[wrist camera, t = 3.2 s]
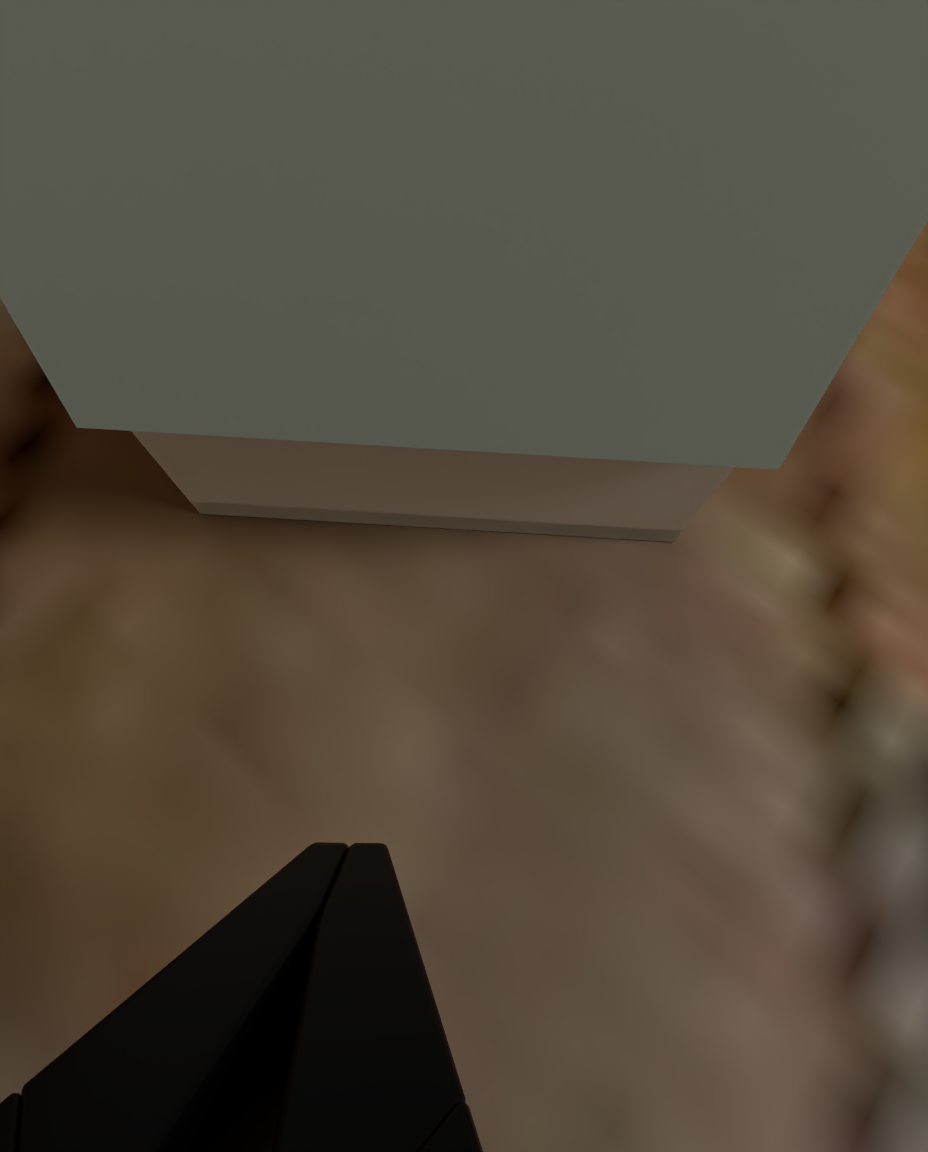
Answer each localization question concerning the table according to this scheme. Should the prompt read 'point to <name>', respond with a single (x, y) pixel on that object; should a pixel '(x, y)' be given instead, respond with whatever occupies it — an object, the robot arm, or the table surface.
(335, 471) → the chest
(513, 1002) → the table surface
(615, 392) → the chest lid
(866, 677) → the table surface
